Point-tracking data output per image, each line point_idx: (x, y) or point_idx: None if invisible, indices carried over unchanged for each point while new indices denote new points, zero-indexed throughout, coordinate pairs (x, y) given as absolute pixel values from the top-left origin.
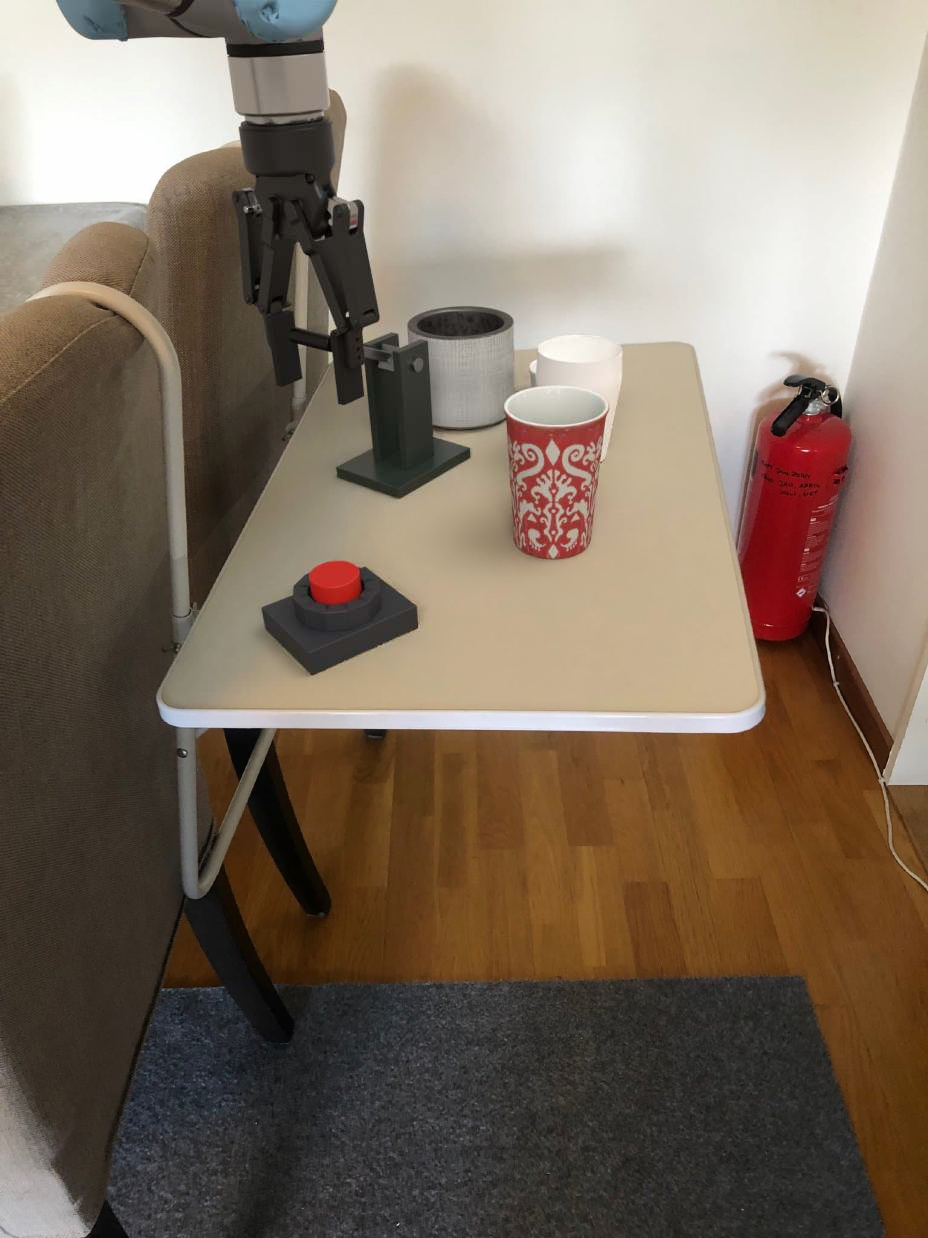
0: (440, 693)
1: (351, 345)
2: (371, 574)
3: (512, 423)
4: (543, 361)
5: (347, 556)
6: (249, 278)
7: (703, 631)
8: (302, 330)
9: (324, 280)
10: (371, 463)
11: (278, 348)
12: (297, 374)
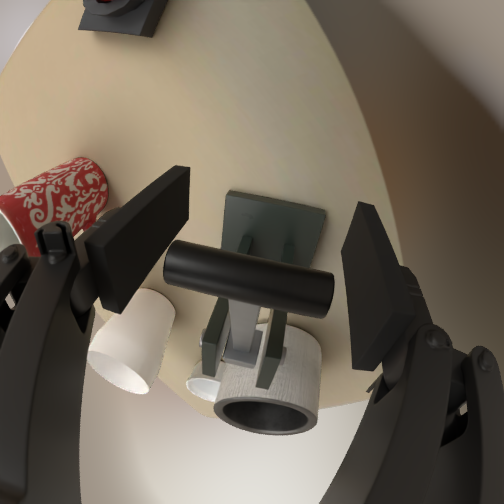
0: (57, 4)
1: (82, 235)
2: (98, 13)
3: (4, 206)
4: (123, 358)
5: (202, 64)
6: (485, 424)
7: (6, 145)
8: (281, 297)
9: (8, 381)
10: (290, 235)
11: (372, 254)
12: (345, 248)
